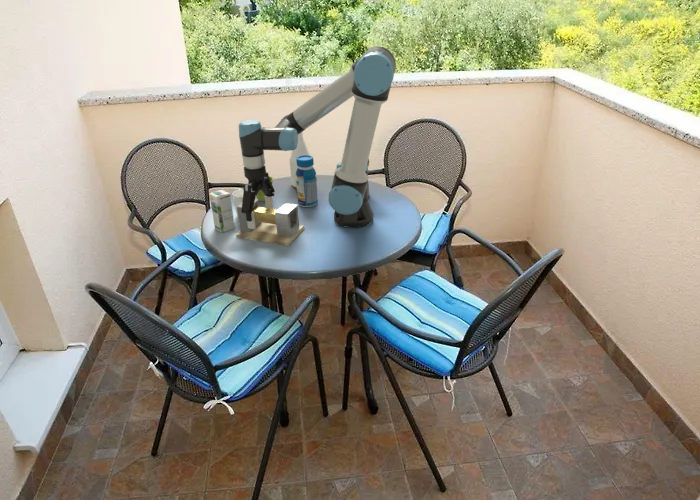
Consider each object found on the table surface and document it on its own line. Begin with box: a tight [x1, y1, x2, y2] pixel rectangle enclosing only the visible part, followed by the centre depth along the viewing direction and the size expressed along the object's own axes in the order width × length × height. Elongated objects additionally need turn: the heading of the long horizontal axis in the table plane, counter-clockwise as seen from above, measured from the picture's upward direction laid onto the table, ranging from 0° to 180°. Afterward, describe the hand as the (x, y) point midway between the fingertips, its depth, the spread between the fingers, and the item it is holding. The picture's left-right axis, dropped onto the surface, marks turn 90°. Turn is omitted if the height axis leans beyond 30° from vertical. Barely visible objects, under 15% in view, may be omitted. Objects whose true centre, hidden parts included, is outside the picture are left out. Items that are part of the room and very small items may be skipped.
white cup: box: [231, 188, 253, 218], centre depth 201 cm, size 8×8×10 cm
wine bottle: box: [289, 132, 311, 189], centre depth 222 cm, size 10×10×30 cm
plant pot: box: [255, 175, 274, 202], centre depth 215 cm, size 9×9×9 cm
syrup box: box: [209, 189, 236, 234], centre depth 191 cm, size 6×6×14 cm
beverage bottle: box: [296, 154, 319, 208], centre depth 207 cm, size 8×8×20 cm
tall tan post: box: [252, 206, 278, 224], centre depth 187 cm, size 14×4×4 cm, turn 70°
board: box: [235, 222, 305, 247], centre depth 190 cm, size 21×14×1 cm, turn 70°
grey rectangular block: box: [275, 202, 300, 239], centre depth 185 cm, size 5×8×10 cm, turn 160°
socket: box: [236, 198, 261, 232], centre depth 190 cm, size 4×8×10 cm, turn 160°
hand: (261, 220), depth 189 cm, fingers open, 13 cm apart
